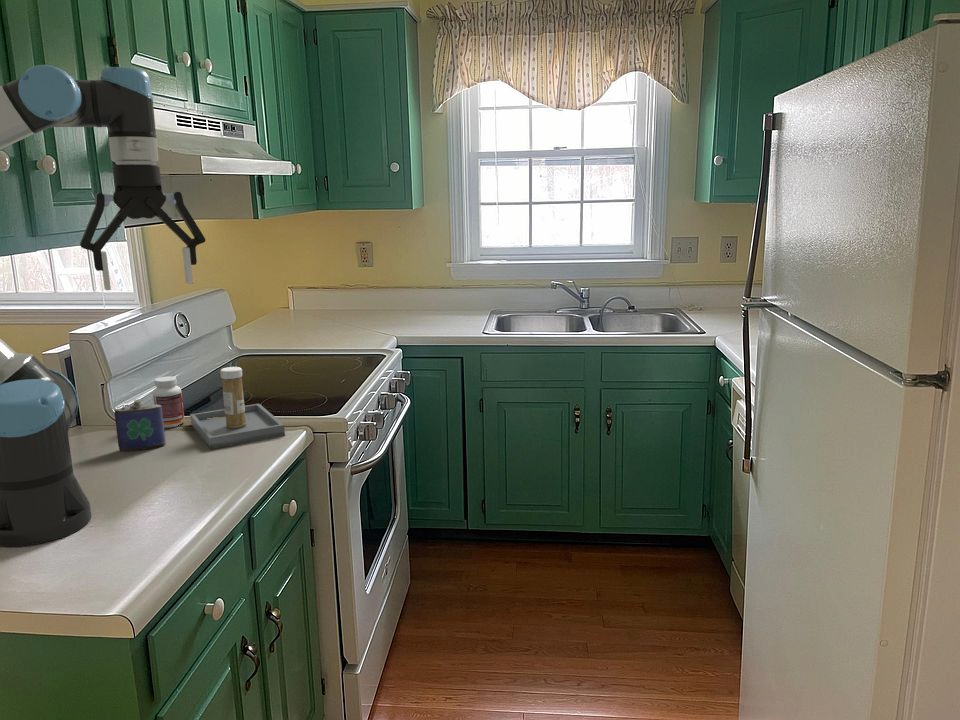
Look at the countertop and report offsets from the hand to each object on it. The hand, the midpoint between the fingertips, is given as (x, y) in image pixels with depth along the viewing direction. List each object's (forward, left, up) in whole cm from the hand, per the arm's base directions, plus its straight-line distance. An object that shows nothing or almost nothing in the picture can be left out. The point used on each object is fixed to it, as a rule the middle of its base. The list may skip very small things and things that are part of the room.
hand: (149, 286), depth 136 cm
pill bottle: (+6, +36, -37) cm, 52 cm away
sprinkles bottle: (+18, +23, -36) cm, 46 cm away
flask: (-2, +22, -37) cm, 43 cm away
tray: (+18, +23, -37) cm, 47 cm away
